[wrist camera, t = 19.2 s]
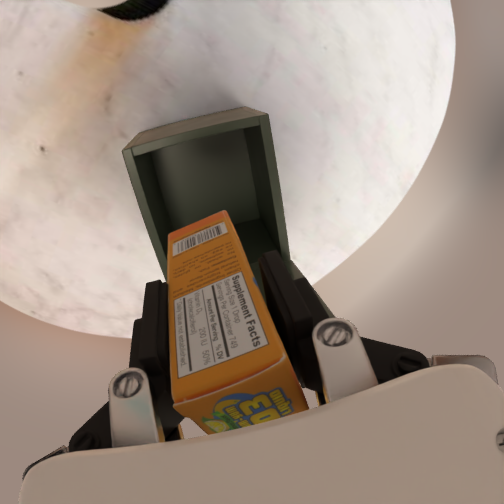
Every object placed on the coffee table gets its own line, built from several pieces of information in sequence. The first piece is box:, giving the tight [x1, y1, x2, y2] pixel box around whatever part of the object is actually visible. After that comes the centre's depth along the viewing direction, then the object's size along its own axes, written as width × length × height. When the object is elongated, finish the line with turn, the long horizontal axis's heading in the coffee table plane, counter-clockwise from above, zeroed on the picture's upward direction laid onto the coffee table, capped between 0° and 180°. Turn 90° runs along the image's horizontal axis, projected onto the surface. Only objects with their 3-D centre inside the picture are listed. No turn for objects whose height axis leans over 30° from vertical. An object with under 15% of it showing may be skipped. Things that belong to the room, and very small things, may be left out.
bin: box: [122, 107, 290, 282], centre depth 31 cm, size 14×12×10 cm
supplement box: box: [167, 210, 309, 435], centre depth 12 cm, size 3×3×10 cm
